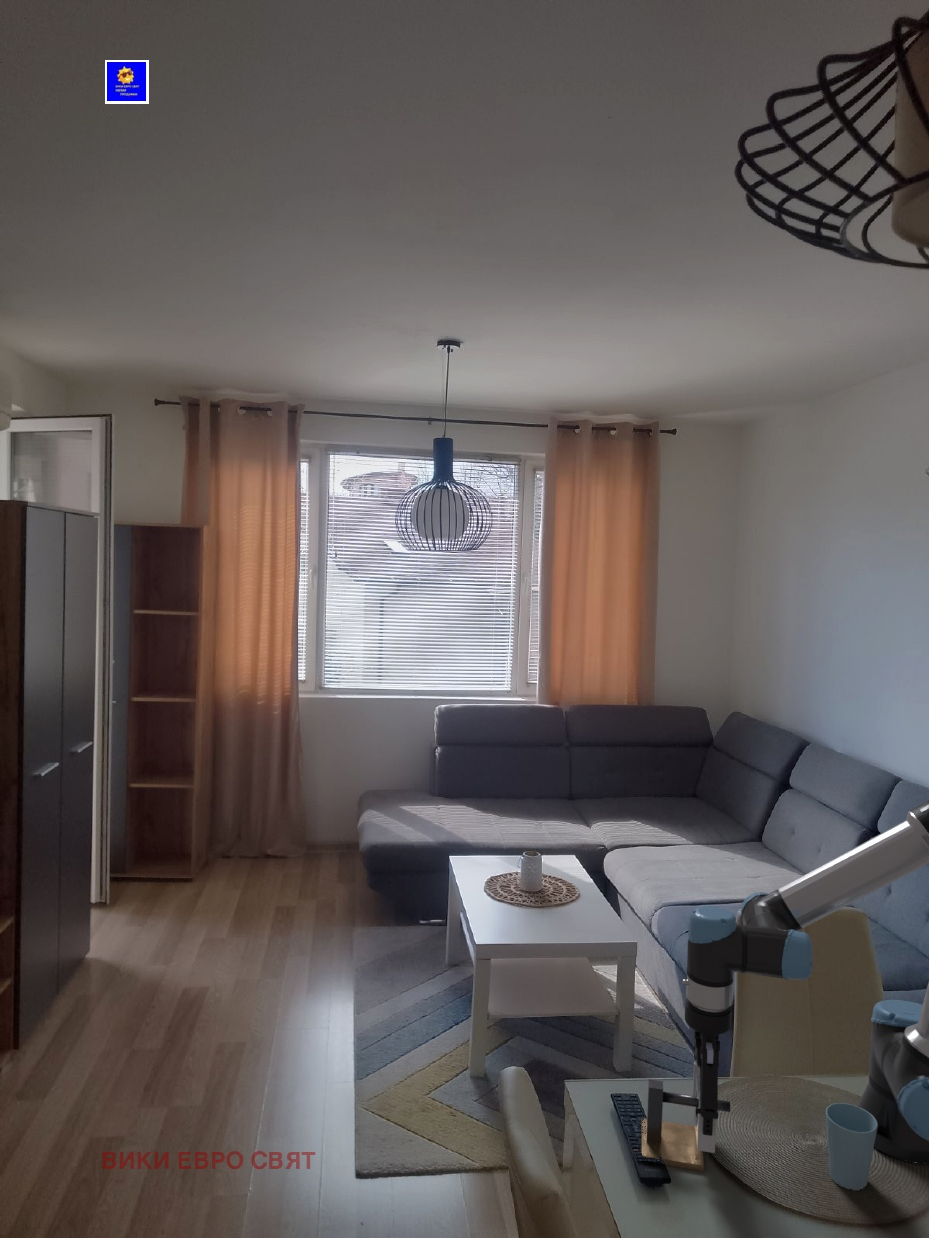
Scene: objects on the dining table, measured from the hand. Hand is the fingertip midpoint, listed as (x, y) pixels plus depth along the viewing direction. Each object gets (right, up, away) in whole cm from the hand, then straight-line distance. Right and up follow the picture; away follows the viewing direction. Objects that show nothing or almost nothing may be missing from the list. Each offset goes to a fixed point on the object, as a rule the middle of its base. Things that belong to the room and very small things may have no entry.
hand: (703, 1123), depth 145 cm
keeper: (-3, -5, +1) cm, 6 cm away
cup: (+22, -6, -5) cm, 24 cm away
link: (0, -2, 0) cm, 2 cm away
